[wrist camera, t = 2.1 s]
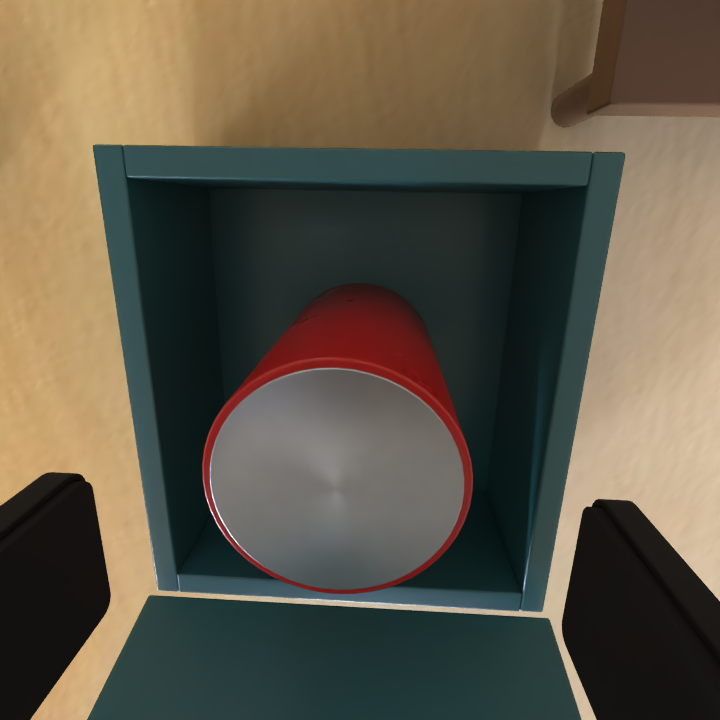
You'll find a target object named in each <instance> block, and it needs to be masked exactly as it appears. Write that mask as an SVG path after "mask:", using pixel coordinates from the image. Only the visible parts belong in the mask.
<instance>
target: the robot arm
mask: <svg viewBox="0 0 720 720" xmlns="http://www.w3.org/2000/svg"><path fill="white" fill-rule="evenodd" d="M110 597H111V593H110V587H109V581H108V575H107V569H106V563H105V557H104V552H103V546H102V540H101V534H100V528H99V522H98V517H97V511H96V505H95V499H94V493H93V489H92V486H91V484H90V483H88V482H86V481H85V479H84V477H83V476H82V475H80V474H74V473H54V472H51V473H46V474H44V475H42V476H40V477H39V478H38V479H36V480H35V481H34V482H32V483H31V484H30V485H28V486H27V487H26V488H24V489H23V490H22V491H20V492H19V493H18V494H16V495H15V496H13V497H12V498H11V499H9V500H8V501H7V502H5V503H4V504H3V505H1V506H0V720H30V719H31V718H32V716H33V715H34V713H35V712H36V711H37V709H38V708H39V706H40V705H41V704H42V702H43V701H44V699H45V698H46V697H47V695H48V694H49V692H50V691H51V690H52V688H53V687H54V685H55V684H56V683H57V681H58V680H59V678H60V677H61V676H62V674H63V673H64V671H65V670H66V669H67V667H68V666H69V664H70V663H71V661H72V660H73V659H74V657H75V656H76V654H77V653H78V652H79V650H80V649H81V647H82V646H83V645H84V643H85V642H86V640H87V639H88V638H89V636H90V635H91V633H92V632H93V631H94V629H95V628H96V626H97V625H98V624H99V622H100V621H101V619H102V618H103V617H104V615H105V613H106V612H107V609H108V607H109V603H110ZM562 633H563V638H564V642H565V645H566V647H567V650H568V652H569V655H570V657H571V659H572V662H573V664H574V667H575V669H576V671H577V674H578V676H579V678H580V681H581V683H582V686H583V688H584V690H585V693H586V695H587V698H588V700H589V702H590V705H591V707H592V709H593V712H594V714H595V717H596V719H597V720H720V601H719V600H718V599H717V598H716V597H715V596H714V594H713V593H712V592H711V591H710V590H709V589H708V587H707V586H706V585H705V584H704V583H703V582H702V581H701V579H700V578H699V577H698V576H697V575H696V574H695V572H694V571H693V570H692V569H691V568H690V567H689V566H688V564H687V563H686V562H685V561H684V560H683V559H682V558H681V556H680V555H679V554H678V553H677V552H676V551H675V549H674V548H673V547H672V546H671V545H670V544H669V543H668V541H667V540H666V539H665V538H664V537H663V536H662V535H661V533H660V532H659V531H658V530H657V529H656V528H655V526H654V525H653V524H652V523H651V522H650V521H649V520H648V518H647V517H646V516H645V515H644V514H643V513H642V512H641V510H640V509H639V508H638V507H637V506H636V505H635V504H634V503H633V502H631V501H625V500H605V499H598V500H595V502H594V503H593V505H592V507H586V508H585V509H584V510H583V513H582V518H581V524H580V529H579V534H578V539H577V545H576V550H575V555H574V561H573V566H572V571H571V576H570V582H569V587H568V592H567V598H566V603H565V608H564V614H563V619H562Z"/></svg>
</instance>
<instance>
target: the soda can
mask: <svg viewBox="0 0 720 720" xmlns="http://www.w3.org/2000/svg"><path fill="white" fill-rule="evenodd" d="M202 471H203V485H204V491H205V496H206V499H207V502H208V505H209V508H210V511H211V513H212V515H213V517H214V519H215V522H216V524H217V525H218V527H219V528H220V530H221V531H222V533H223V534H224V536H225V537H226V539H227V540H228V541H229V542H230V543H231V545H232V546H233V547H234V548H235V549H236V550H237V551H238V552H239V553H240V554H241V555H242V556H243V557H244V558H245V559H247V560H248V561H249V562H250V563H252V564H253V565H255V566H256V567H257V568H259V569H260V570H262V571H263V572H265V573H267V574H269V575H270V576H272V577H274V578H276V579H278V580H281V581H283V582H285V583H287V584H290V585H293V586H296V587H299V588H302V589H307V590H311V591H316V592H322V593H331V594H357V593H367V592H372V591H376V590H381V589H385V588H388V587H391V586H394V585H397V584H399V583H402V582H404V581H406V580H408V579H410V578H412V577H414V576H416V575H417V574H419V573H420V572H422V571H424V570H425V569H427V568H428V567H429V566H430V565H431V564H433V563H434V562H435V561H436V560H438V559H439V558H440V556H441V555H442V554H443V553H444V552H445V551H446V550H447V549H448V548H449V547H450V545H451V544H452V542H453V541H454V540H455V538H456V537H457V535H458V533H459V531H460V529H461V527H462V526H463V524H464V522H465V519H466V516H467V513H468V510H469V507H470V502H471V497H472V491H473V472H472V464H471V458H470V454H469V451H468V447H467V444H466V441H465V438H464V435H463V432H462V429H461V427H460V424H459V421H458V418H457V415H456V412H455V409H454V406H453V403H452V401H451V398H450V395H449V392H448V389H447V386H446V383H445V380H444V378H443V375H442V372H441V369H440V366H439V363H438V360H437V357H436V355H435V352H434V349H433V346H432V343H431V340H430V337H429V334H428V332H427V329H426V327H425V324H424V322H423V320H422V319H421V317H420V315H419V314H418V312H417V311H416V310H415V309H414V307H413V306H412V305H411V304H410V303H409V302H408V301H406V300H405V299H404V298H403V297H401V296H400V295H398V294H397V293H395V292H393V291H391V290H389V289H387V288H384V287H381V286H377V285H373V284H366V283H351V284H345V285H340V286H337V287H334V288H331V289H329V290H327V291H325V292H323V293H321V294H320V295H318V296H317V297H315V298H314V299H313V300H312V301H311V302H310V303H309V304H308V305H307V306H306V307H305V308H304V309H303V310H302V312H301V313H300V314H299V315H298V316H297V318H296V319H295V320H294V321H293V322H292V324H291V325H290V326H289V327H288V329H287V330H286V331H285V332H284V333H283V335H282V336H281V337H280V338H279V339H278V341H277V342H276V343H275V344H274V346H273V347H272V348H271V349H270V350H269V352H268V353H267V354H266V355H265V356H264V358H263V359H262V360H261V361H260V362H259V364H258V365H257V366H256V367H255V369H254V370H253V371H252V372H251V373H250V375H249V376H248V377H247V378H246V379H245V381H244V382H243V383H242V384H241V385H240V387H239V388H238V389H237V390H236V392H235V393H234V394H233V395H232V396H231V398H230V399H229V400H228V401H227V402H226V404H225V405H224V406H223V408H222V409H221V411H220V412H219V414H218V415H217V417H216V418H215V420H214V423H213V425H212V427H211V429H210V431H209V433H208V437H207V441H206V444H205V448H204V454H203V462H202Z"/></svg>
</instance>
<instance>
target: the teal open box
mask: <svg viewBox="0 0 720 720" xmlns="http://www.w3.org/2000/svg"><path fill="white" fill-rule="evenodd" d="M93 151H94V158H95V165H96V172H97V178H98V185H99V192H100V199H101V206H102V213H103V219H104V226H105V233H106V240H107V247H108V254H109V260H110V267H111V274H112V281H113V288H114V295H115V301H116V308H117V315H118V322H119V329H120V336H121V342H122V349H123V356H124V363H125V370H126V377H127V383H128V390H129V397H130V404H131V411H132V418H133V424H134V431H135V438H136V445H137V452H138V459H139V465H140V472H141V479H142V486H143V493H144V500H145V506H146V513H147V520H148V527H149V534H150V541H151V547H152V554H153V561H154V568H155V575H156V581H157V588H158V590H161V591H180V592H192V593H209V594H227V595H244V596H262V597H279V598H296V599H314V600H331V601H349V602H366V603H383V604H401V605H418V606H436V607H453V608H470V609H488V610H505V611H519V609H520V610H521V611H530V612H542V611H543V605H544V600H545V594H546V589H547V583H548V578H549V572H550V567H551V561H552V556H553V550H554V545H555V539H556V534H557V528H558V523H559V517H560V512H561V506H562V501H563V495H564V490H565V484H566V479H567V473H568V468H569V462H570V457H571V451H572V446H573V440H574V435H575V429H576V424H577V418H578V413H579V407H580V402H581V396H582V391H583V385H584V380H585V374H586V369H587V363H588V358H589V352H590V347H591V341H592V336H593V330H594V324H595V319H596V313H597V308H598V302H599V297H600V291H601V286H602V280H603V275H604V269H605V264H606V258H607V253H608V247H609V242H610V236H611V231H612V225H613V220H614V214H615V209H616V203H617V198H618V192H619V187H620V181H621V176H622V170H623V165H624V159H625V154H624V153H622V152H594V153H592V152H572V151H503V150H435V149H367V148H298V147H230V146H162V145H124V146H123V145H93ZM351 283H366V284H373V285H377V286H381V287H384V288H387V289H389V290H391V291H393V292H395V293H397V294H398V295H400V296H401V297H403V298H404V299H405V300H406V301H408V302H409V303H410V304H411V305H412V306H413V307H414V309H415V310H416V311H417V312H418V314H419V315H420V317H421V319H422V320H423V322H424V324H425V327H426V329H427V332H428V334H429V337H430V340H431V343H432V346H433V349H434V352H435V355H436V357H437V360H438V363H439V366H440V369H441V372H442V375H443V378H444V380H445V383H446V386H447V389H448V392H449V395H450V398H451V401H452V403H453V406H454V409H455V412H456V415H457V418H458V421H459V424H460V427H461V429H462V432H463V435H464V438H465V441H466V444H467V447H468V451H469V454H470V458H471V464H472V472H473V491H472V497H471V502H470V507H469V510H468V513H467V516H466V519H465V522H464V524H463V526H462V527H461V529H460V531H459V533H458V535H457V537H456V538H455V540H454V541H453V542H452V544H451V545H450V547H449V548H448V549H447V550H446V551H445V552H444V553H443V554H442V555H441V556H440V558H439V559H438V560H436V561H435V562H434V563H433V564H431V565H430V566H429V567H428V568H427V569H425V570H424V571H422V572H420V573H419V574H417V575H416V576H414V577H412V578H410V579H408V580H406V581H404V582H402V583H399V584H397V585H394V586H391V587H388V588H385V589H381V590H376V591H372V592H367V593H357V594H331V593H322V592H316V591H311V590H307V589H302V588H299V587H296V586H293V585H290V584H287V583H285V582H283V581H281V580H278V579H276V578H274V577H272V576H270V575H269V574H267V573H265V572H263V571H262V570H260V569H259V568H257V567H256V566H255V565H253V564H252V563H250V562H249V561H248V560H247V559H245V558H244V557H243V556H242V555H241V554H240V553H239V552H238V551H237V550H236V549H235V548H234V547H233V546H232V545H231V543H230V542H229V541H228V540H227V539H226V537H225V536H224V534H223V533H222V531H221V530H220V528H219V527H218V525H217V524H216V522H215V519H214V517H213V515H212V513H211V511H210V508H209V505H208V502H207V499H206V496H205V491H204V485H203V471H202V462H203V454H204V448H205V444H206V441H207V437H208V433H209V431H210V429H211V427H212V425H213V423H214V420H215V418H216V417H217V415H218V414H219V412H220V411H221V409H222V408H223V406H224V405H225V404H226V402H227V401H228V400H229V399H230V398H231V396H232V395H233V394H234V393H235V392H236V390H237V389H238V388H239V387H240V385H241V384H242V383H243V382H244V381H245V379H246V378H247V377H248V376H249V375H250V373H251V372H252V371H253V370H254V369H255V367H256V366H257V365H258V364H259V362H260V361H261V360H262V359H263V358H264V356H265V355H266V354H267V353H268V352H269V350H270V349H271V348H272V347H273V346H274V344H275V343H276V342H277V341H278V339H279V338H280V337H281V336H282V335H283V333H284V332H285V331H286V330H287V329H288V327H289V326H290V325H291V324H292V322H293V321H294V320H295V319H296V318H297V316H298V315H299V314H300V313H301V312H302V310H303V309H304V308H305V307H306V306H307V305H308V304H309V303H310V302H311V301H312V300H313V299H314V298H315V297H317V296H318V295H320V294H321V293H323V292H325V291H327V290H329V289H331V288H334V287H337V286H340V285H345V284H351Z"/></svg>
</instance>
